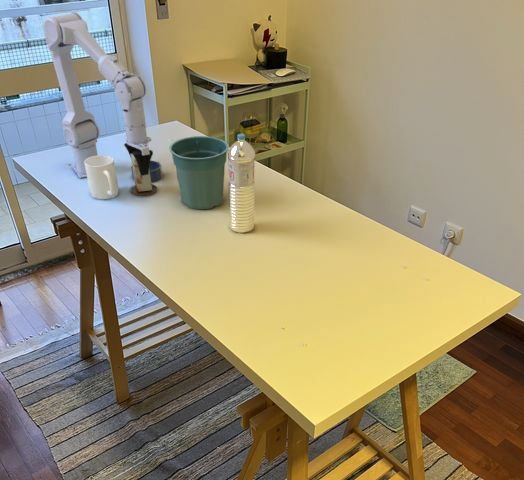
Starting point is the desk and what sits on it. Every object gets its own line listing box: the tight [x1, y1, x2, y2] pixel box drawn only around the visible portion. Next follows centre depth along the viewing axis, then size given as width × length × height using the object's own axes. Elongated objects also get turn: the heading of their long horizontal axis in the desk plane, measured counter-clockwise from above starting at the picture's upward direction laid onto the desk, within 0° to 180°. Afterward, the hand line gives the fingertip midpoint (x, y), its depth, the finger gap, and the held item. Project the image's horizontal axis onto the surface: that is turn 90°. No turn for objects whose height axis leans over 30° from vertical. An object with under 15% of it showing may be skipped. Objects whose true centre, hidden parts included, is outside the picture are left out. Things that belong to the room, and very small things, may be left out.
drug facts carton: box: [130, 154, 153, 192], centre depth 161 cm, size 5×4×10 cm
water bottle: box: [227, 133, 256, 234], centre depth 139 cm, size 7×7×25 cm
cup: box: [84, 154, 120, 200], centre depth 158 cm, size 8×12×10 cm
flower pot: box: [168, 135, 230, 210], centre depth 154 cm, size 16×16×16 cm
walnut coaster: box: [130, 183, 158, 197], centre depth 164 cm, size 8×8×1 cm
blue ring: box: [130, 159, 163, 183], centre depth 171 cm, size 9×9×4 cm
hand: (141, 171), depth 160 cm, fingers closed on drug facts carton, 5 cm apart
